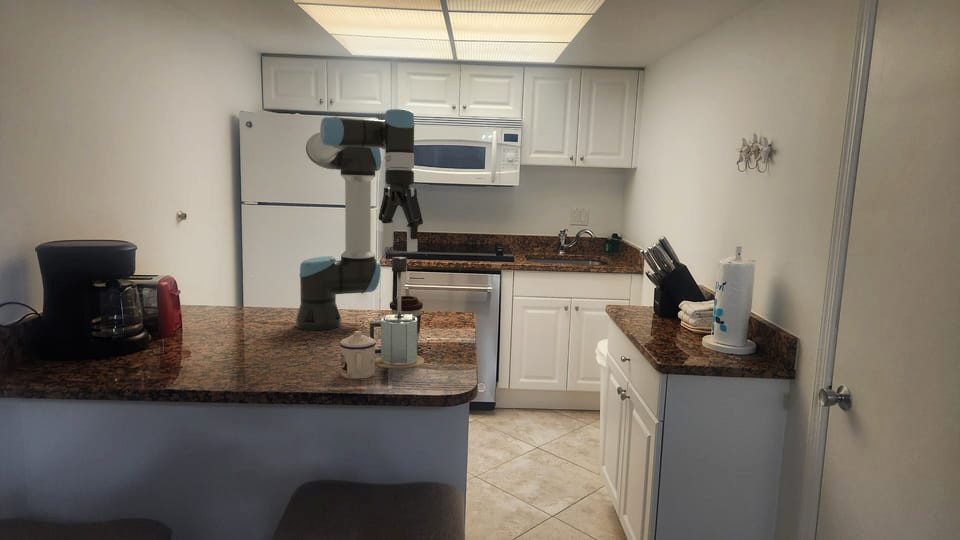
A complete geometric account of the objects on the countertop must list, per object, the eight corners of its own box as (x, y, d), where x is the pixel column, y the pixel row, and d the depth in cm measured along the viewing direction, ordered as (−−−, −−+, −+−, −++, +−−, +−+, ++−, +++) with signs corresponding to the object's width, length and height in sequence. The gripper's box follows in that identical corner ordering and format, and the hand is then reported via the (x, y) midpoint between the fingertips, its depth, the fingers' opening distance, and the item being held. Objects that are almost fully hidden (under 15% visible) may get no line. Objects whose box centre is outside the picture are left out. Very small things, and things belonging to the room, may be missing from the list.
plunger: (385, 321, 170) (385, 256, 167) (412, 321, 171) (413, 256, 168) (384, 328, 162) (384, 259, 160) (413, 328, 163) (413, 259, 161)
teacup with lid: (340, 370, 160) (339, 327, 159) (374, 368, 162) (374, 326, 161) (340, 385, 149) (339, 339, 147) (377, 383, 151) (377, 338, 149)
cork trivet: (365, 360, 170) (365, 358, 170) (408, 352, 178) (408, 350, 178) (388, 373, 159) (388, 371, 158) (433, 365, 167) (433, 362, 167)
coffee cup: (416, 351, 180) (417, 301, 177) (385, 348, 181) (384, 299, 179) (426, 342, 189) (426, 295, 187) (396, 340, 191) (396, 293, 189)
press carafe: (371, 355, 172) (371, 313, 170) (416, 355, 174) (417, 312, 172) (369, 366, 162) (369, 321, 160) (417, 365, 164) (417, 321, 162)
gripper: (366, 169, 168) (366, 245, 171) (410, 168, 148) (410, 254, 151) (390, 170, 173) (390, 244, 176) (436, 169, 153) (435, 253, 156)
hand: (399, 249), depth 163 cm, fingers open, 13 cm apart
